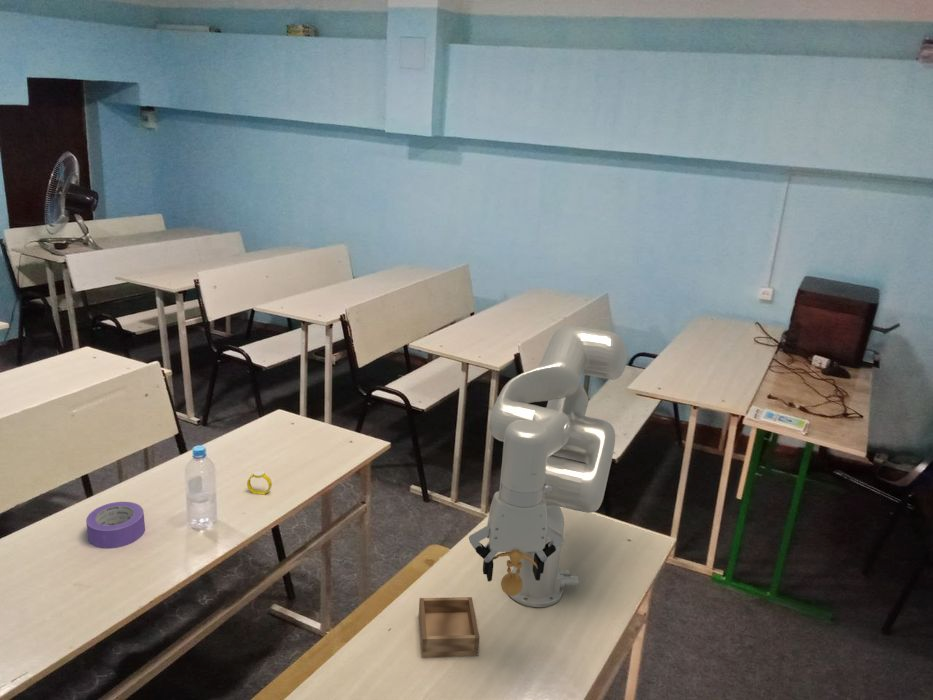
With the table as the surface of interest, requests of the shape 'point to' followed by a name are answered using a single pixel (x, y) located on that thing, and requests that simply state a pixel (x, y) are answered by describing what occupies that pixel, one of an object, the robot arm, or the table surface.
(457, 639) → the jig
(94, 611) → the table surface
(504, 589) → the figurine
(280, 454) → the table surface
